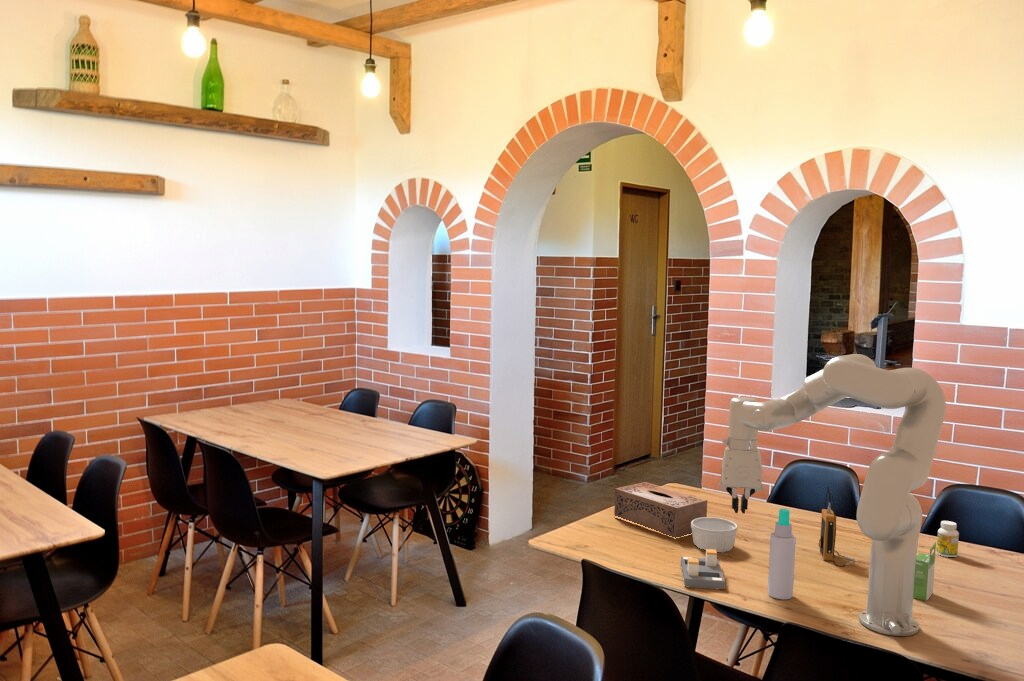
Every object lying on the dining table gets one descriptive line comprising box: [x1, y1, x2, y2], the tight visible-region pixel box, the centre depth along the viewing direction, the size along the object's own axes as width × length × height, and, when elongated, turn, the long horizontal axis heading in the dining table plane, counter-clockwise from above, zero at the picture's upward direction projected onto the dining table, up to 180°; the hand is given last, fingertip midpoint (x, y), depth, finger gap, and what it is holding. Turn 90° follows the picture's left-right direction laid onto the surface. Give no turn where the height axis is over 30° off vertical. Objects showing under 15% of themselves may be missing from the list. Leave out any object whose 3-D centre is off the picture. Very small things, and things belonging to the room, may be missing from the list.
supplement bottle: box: [936, 520, 960, 558], centre depth 237 cm, size 5×5×10 cm
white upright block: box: [687, 557, 699, 576], centre depth 213 cm, size 3×3×5 cm
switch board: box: [680, 556, 726, 590], centre depth 217 cm, size 16×10×2 cm, turn 172°
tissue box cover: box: [613, 481, 708, 538], centre depth 260 cm, size 26×14×10 cm, turn 38°
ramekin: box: [691, 516, 738, 553], centre depth 240 cm, size 13×13×7 cm
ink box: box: [913, 541, 937, 602], centre depth 207 cm, size 7×4×13 cm, turn 141°
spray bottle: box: [767, 508, 797, 600], centre depth 204 cm, size 6×6×22 cm
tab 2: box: [705, 549, 718, 566], centre depth 220 cm, size 3×3×5 cm
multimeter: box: [818, 486, 861, 567], centre depth 232 cm, size 15×10×20 cm
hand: (739, 511), depth 218 cm, fingers closed
